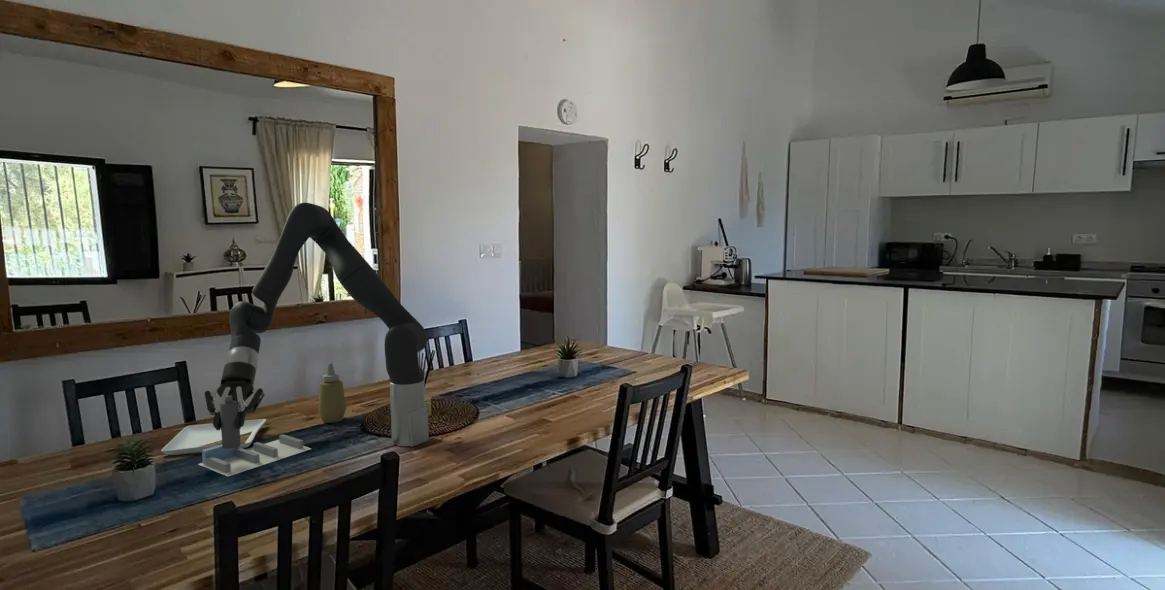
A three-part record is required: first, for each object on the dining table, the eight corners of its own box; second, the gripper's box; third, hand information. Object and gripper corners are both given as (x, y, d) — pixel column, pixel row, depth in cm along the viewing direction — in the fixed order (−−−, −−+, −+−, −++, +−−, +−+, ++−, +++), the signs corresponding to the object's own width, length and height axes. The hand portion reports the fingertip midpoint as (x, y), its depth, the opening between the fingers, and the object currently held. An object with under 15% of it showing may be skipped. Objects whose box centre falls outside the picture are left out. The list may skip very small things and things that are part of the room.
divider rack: (311, 452, 169) (311, 435, 168) (228, 480, 151) (227, 462, 150) (281, 442, 176) (280, 426, 176) (198, 468, 158) (196, 450, 158)
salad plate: (160, 462, 163) (159, 449, 162) (187, 436, 183) (186, 424, 183) (251, 454, 168) (250, 441, 168) (267, 429, 189) (267, 418, 188)
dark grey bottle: (244, 445, 159) (241, 395, 157) (227, 449, 155) (224, 399, 154) (235, 441, 161) (232, 393, 159) (219, 446, 157) (215, 396, 156)
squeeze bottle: (328, 426, 190) (325, 367, 188) (313, 421, 195) (310, 363, 193) (352, 419, 197) (349, 362, 195) (337, 415, 201) (334, 359, 199)
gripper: (206, 361, 161) (190, 422, 151) (266, 359, 164) (255, 419, 154) (214, 377, 167) (200, 437, 157) (273, 374, 170) (262, 433, 160)
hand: (227, 427), depth 155 cm, fingers closed on dark grey bottle, 4 cm apart
